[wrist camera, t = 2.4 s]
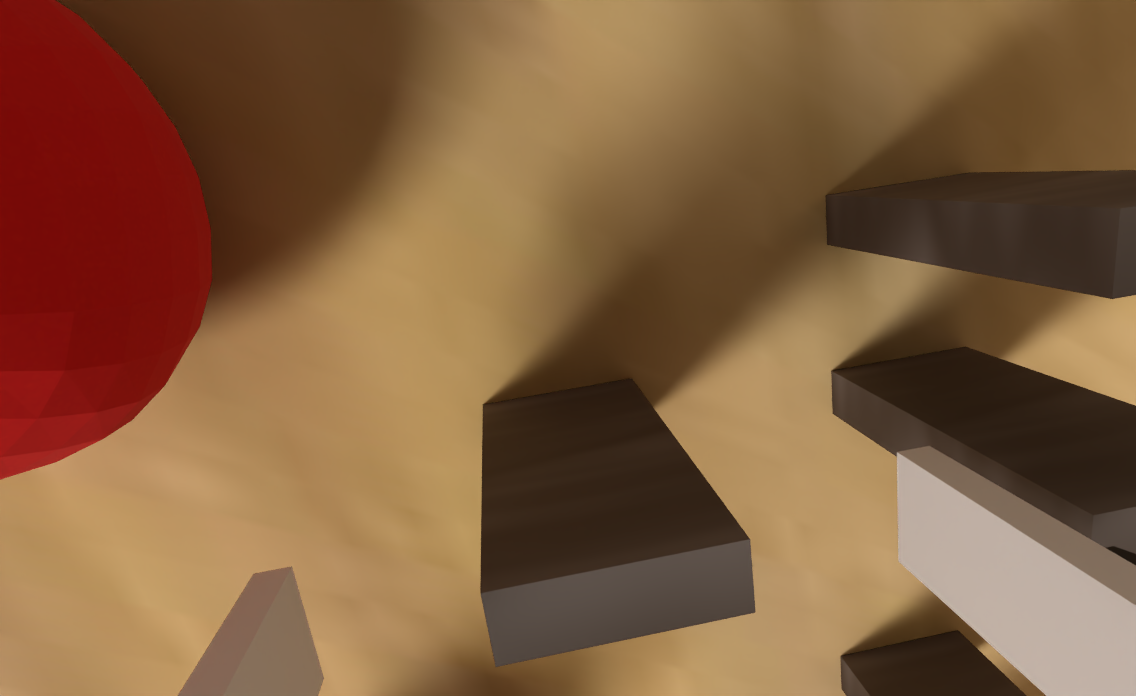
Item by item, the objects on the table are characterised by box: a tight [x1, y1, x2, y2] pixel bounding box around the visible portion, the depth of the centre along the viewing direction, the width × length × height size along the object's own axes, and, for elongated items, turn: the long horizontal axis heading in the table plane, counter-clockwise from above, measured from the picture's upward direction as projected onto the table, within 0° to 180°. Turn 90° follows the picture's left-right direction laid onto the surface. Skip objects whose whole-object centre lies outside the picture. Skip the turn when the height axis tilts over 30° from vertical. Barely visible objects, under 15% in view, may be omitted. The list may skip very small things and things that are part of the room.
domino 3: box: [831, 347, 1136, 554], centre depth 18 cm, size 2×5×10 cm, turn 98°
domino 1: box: [481, 379, 755, 667], centre depth 17 cm, size 2×5×10 cm, turn 98°
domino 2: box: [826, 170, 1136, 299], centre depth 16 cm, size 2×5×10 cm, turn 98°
